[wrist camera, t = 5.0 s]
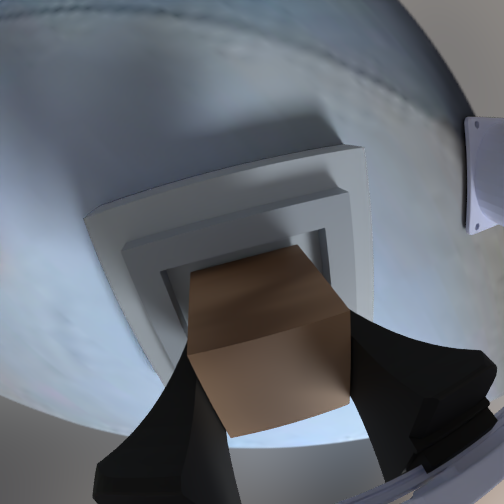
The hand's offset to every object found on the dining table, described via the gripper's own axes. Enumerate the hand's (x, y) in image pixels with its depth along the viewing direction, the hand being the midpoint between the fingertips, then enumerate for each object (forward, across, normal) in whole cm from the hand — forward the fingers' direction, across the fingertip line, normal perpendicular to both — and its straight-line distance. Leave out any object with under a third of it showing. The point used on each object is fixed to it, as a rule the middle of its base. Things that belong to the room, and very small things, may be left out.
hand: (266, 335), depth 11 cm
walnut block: (+2, 0, 0) cm, 2 cm away
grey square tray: (+4, 0, 0) cm, 4 cm away
